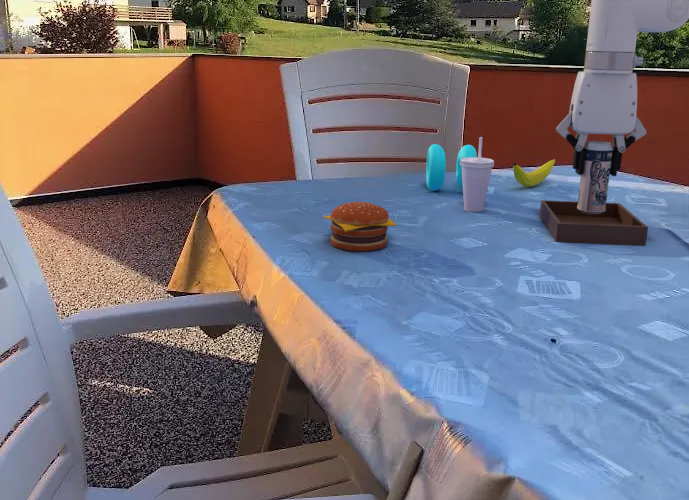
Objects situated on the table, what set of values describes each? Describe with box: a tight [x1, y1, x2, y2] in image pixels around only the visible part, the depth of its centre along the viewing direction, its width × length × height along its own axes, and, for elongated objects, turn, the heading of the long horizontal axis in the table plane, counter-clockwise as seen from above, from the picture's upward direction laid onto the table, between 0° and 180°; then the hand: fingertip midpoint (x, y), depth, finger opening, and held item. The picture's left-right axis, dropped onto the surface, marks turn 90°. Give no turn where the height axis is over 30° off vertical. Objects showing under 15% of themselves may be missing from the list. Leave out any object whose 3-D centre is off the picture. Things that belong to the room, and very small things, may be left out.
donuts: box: [425, 143, 478, 192], centre depth 152 cm, size 10×10×10 cm
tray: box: [539, 199, 649, 246], centre depth 123 cm, size 14×17×3 cm
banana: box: [512, 158, 556, 188], centre depth 159 cm, size 3×19×6 cm, turn 137°
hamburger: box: [322, 201, 397, 252], centre depth 112 cm, size 9×10×7 cm
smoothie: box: [460, 136, 495, 213], centre depth 135 cm, size 6×6×14 cm
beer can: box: [577, 140, 614, 214], centre depth 121 cm, size 5×5×12 cm
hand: (595, 173), depth 120 cm, fingers closed on beer can, 4 cm apart
